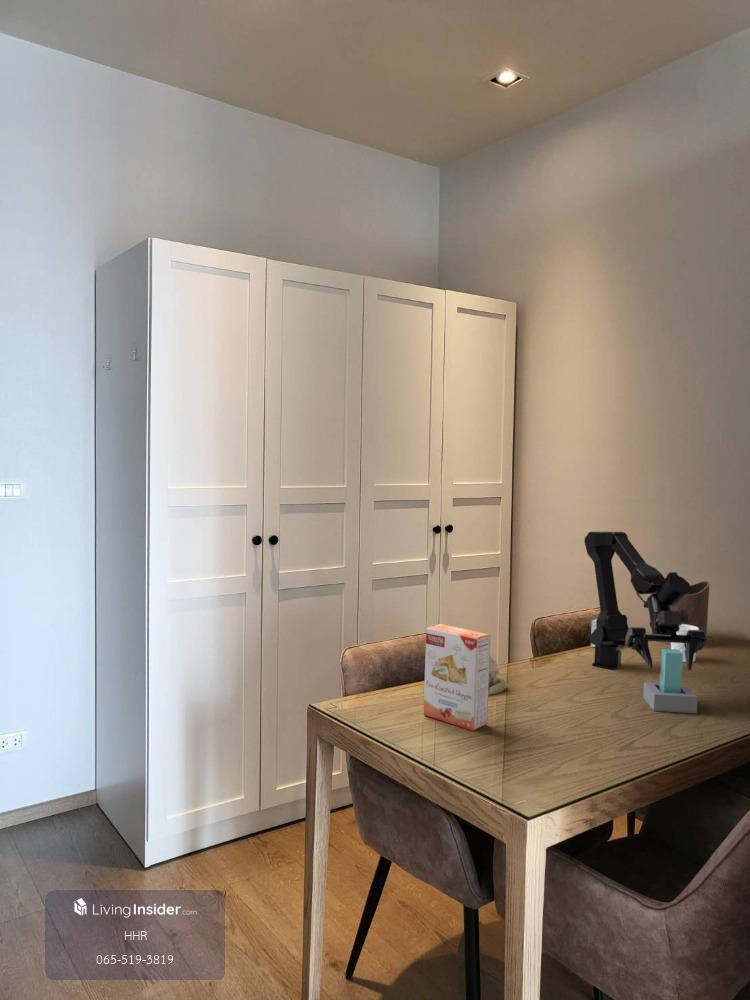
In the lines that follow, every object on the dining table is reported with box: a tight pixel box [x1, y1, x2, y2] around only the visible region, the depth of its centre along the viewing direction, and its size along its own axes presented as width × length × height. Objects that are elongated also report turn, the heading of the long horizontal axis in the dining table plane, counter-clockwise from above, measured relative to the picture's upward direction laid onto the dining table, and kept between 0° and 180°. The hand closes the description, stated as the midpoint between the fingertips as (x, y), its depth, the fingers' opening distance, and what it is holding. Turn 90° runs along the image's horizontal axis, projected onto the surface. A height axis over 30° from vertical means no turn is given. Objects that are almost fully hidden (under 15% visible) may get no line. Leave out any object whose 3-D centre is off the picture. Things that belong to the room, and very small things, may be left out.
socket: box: [642, 681, 698, 714], centre depth 189 cm, size 10×10×4 cm
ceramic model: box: [488, 655, 507, 696], centre depth 198 cm, size 14×11×10 cm
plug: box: [659, 648, 684, 693], centre depth 189 cm, size 4×4×13 cm
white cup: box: [670, 624, 699, 663], centre depth 232 cm, size 8×8×10 cm
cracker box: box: [423, 623, 491, 732], centre depth 174 cm, size 14×6×21 cm, turn 49°
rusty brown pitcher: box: [635, 580, 711, 649], centre depth 255 cm, size 18×24×25 cm
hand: (670, 668), depth 189 cm, fingers open, 9 cm apart
